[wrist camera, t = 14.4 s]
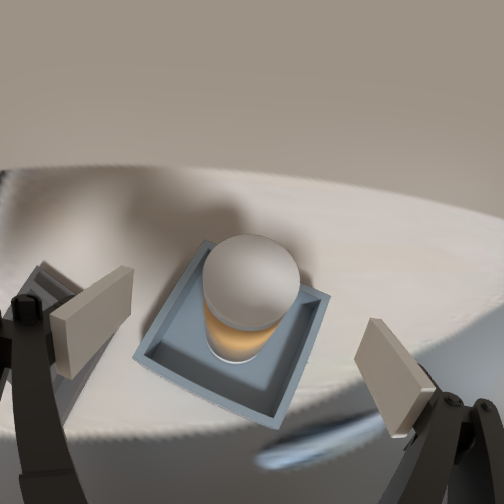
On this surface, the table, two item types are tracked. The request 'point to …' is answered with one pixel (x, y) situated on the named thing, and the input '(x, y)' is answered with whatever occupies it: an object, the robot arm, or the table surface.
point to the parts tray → (224, 375)
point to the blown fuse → (246, 295)
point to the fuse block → (63, 386)
